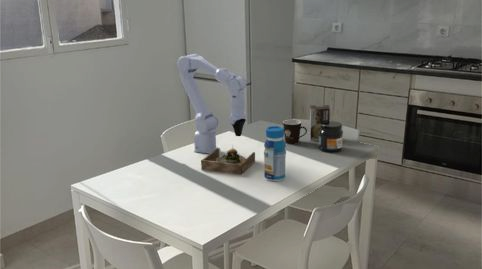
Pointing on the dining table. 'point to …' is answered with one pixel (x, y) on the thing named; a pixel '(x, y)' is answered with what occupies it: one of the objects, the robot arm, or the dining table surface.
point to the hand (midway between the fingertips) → (238, 135)
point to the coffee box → (318, 119)
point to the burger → (232, 157)
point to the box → (225, 164)
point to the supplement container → (330, 136)
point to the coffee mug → (292, 131)
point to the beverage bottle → (274, 154)
